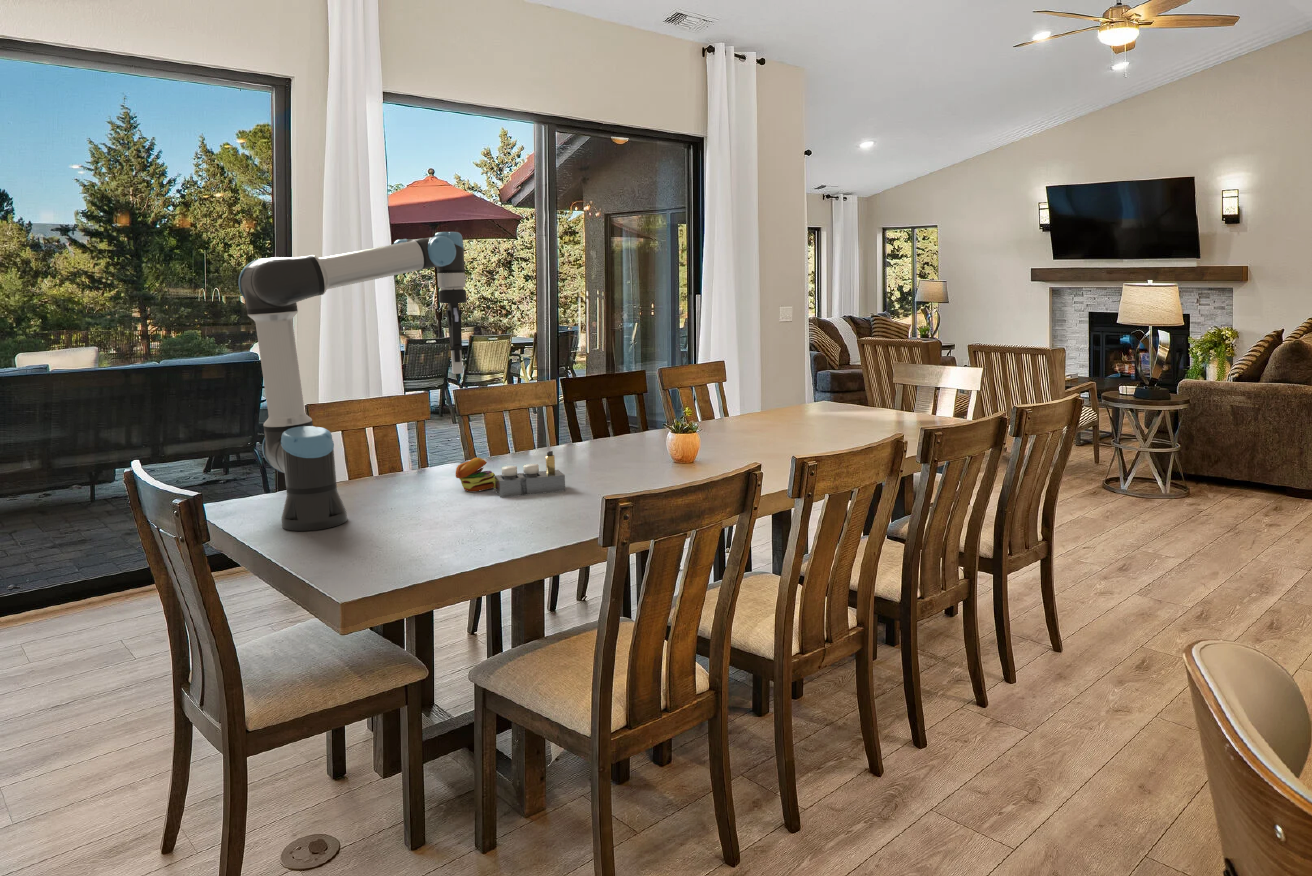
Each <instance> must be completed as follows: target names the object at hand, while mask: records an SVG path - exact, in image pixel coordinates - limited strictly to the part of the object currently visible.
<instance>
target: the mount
mask: <svg viewBox="0 0 1312 876" xmlns="http://www.w3.org/2000/svg"><path fill="white" fill-rule="evenodd" d="M565 476H566V475H565V474H564V473H563V472H562V471H561V470H560V469H555V474H547V472H546V470H541V471H540V470H539V473H537V476H534V477H526V474H524V472H520V473H518V472H517V475H515V478H513V479H504V476H502V474H498V475H497V474H495V487H496V488H495V492H496V494H497V495H498V496H499V498H508V497H518V496H519V497H521V496H529V495H538V494H547V493H558V492H565V491H566V478H565Z"/></svg>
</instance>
